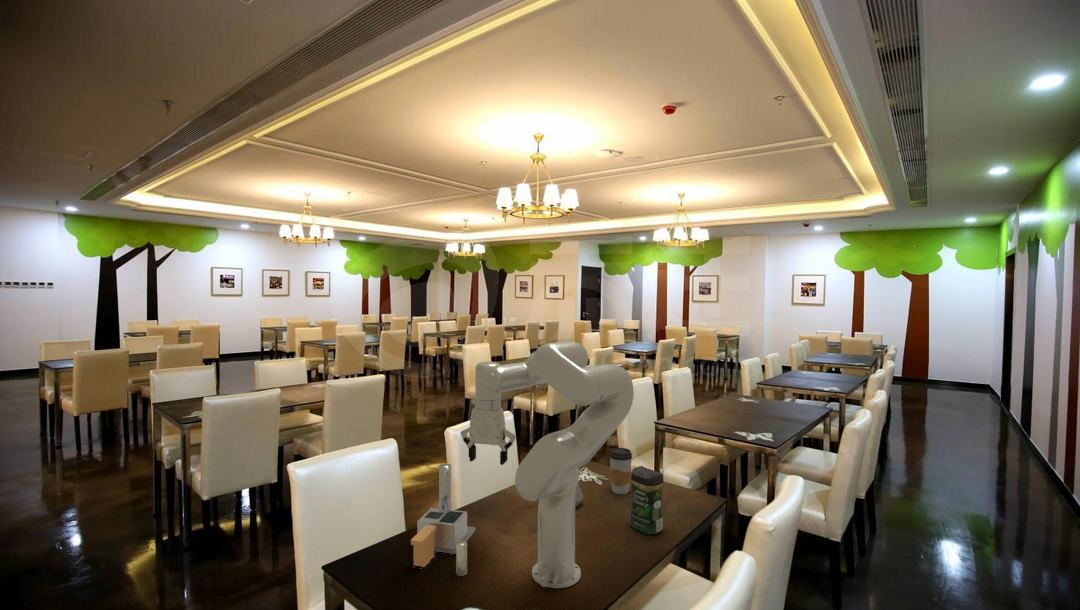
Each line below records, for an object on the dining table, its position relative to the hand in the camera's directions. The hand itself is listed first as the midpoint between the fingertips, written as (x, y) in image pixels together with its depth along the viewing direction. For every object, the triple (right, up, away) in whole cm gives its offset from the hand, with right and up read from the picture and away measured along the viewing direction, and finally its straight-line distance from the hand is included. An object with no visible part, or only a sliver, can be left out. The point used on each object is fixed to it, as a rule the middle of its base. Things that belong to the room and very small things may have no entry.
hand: (487, 461), depth 151 cm
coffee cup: (+45, -22, +36) cm, 62 cm away
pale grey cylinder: (-5, -23, -19) cm, 30 cm away
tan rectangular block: (-16, -23, -13) cm, 31 cm away
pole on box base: (-12, -23, 0) cm, 26 cm away
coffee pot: (+21, -23, +22) cm, 38 cm away
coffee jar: (+48, -23, +7) cm, 54 cm away
